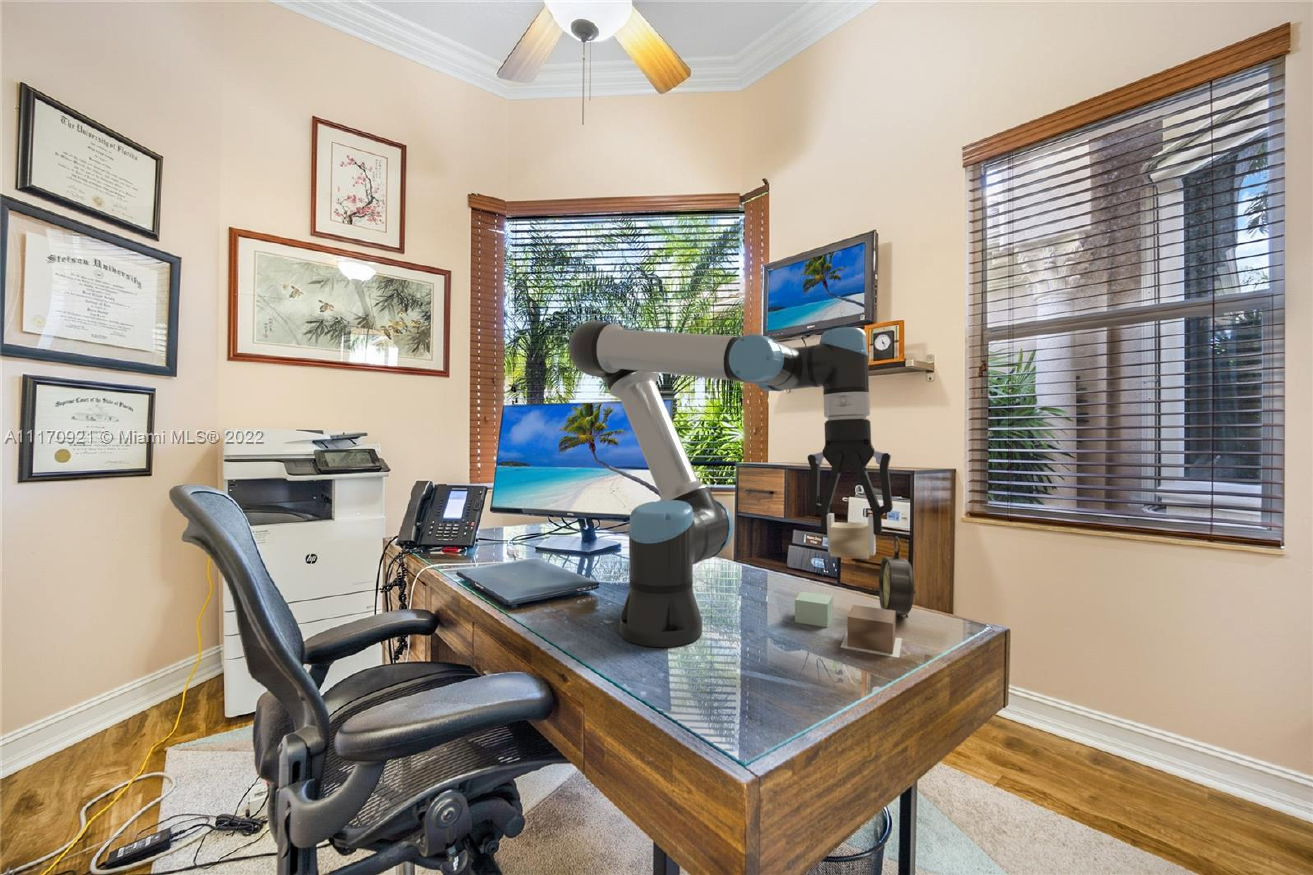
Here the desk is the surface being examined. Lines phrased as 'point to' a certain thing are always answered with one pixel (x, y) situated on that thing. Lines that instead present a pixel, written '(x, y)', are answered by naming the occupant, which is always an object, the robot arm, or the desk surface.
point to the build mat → (895, 652)
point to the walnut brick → (871, 629)
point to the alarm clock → (896, 584)
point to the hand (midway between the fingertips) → (851, 552)
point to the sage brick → (814, 609)
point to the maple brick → (849, 540)
